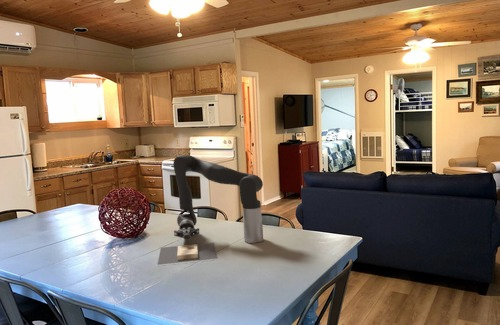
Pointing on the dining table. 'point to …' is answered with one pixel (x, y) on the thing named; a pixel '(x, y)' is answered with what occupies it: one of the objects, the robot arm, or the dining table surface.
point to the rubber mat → (170, 256)
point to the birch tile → (187, 252)
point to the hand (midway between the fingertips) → (186, 237)
